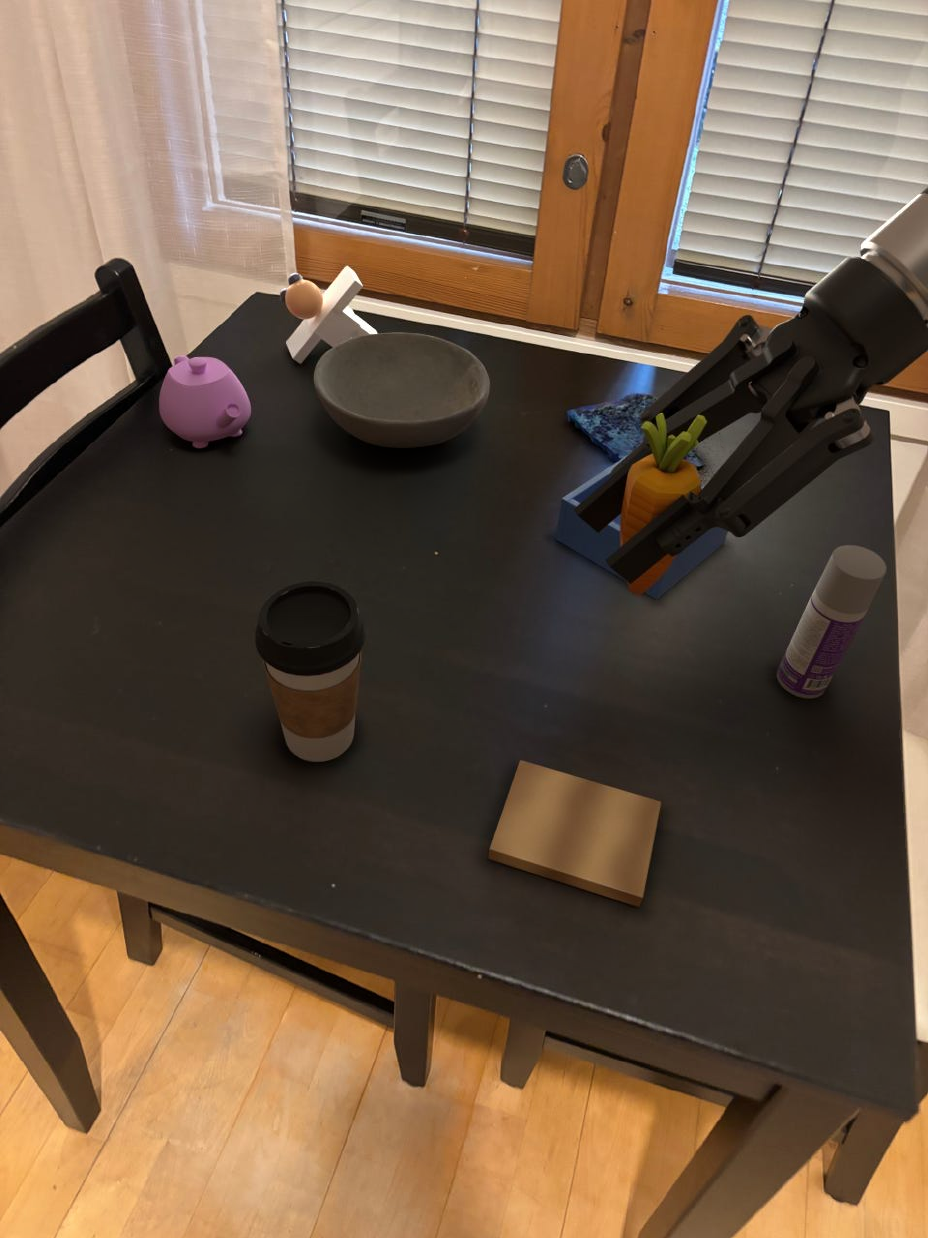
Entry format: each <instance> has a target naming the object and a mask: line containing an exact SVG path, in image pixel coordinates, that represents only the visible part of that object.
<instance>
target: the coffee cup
mask: <svg viewBox="0 0 928 1238" xmlns="http://www.w3.org/2000/svg"><path fill="white" fill-rule="evenodd" d="M254 631H255V635H254V636H255V638H254V639H255V641H254V643H255V647H256V651H257V653H258V654H259V656H260V658H261V659H262V664H263V668H264V671H265V675H266V678H267V681H268V685H269V688H270V691H271V695H272V698H273V703H274V706H275V708H276V711H277V715H278V719H279V721H280V724H281V728H282V732H283V737H284V740H285V744H286V746H287V747H288V749H289V751H290V752H291V753H292V754H293V755H294V756H296V757H298V758H299V759H300V760H304V761H307V762H311V763H320V762H327V761H333V760H334V759H336V758H338V757H340V756H341V755H342V754H344V753H345V752H346V751H347V750H348V749H349V747H350V746H351V744H352V743H353V739H354V736H355V727H356V726H355V725H356V723H355V722H356V711H357V703H358V695H359V693H358V692H359V687H360V685H359V683H360V674H361V665H362V656H363V654H362V649H363V647H364V644H365V641H366V628H365V622H364V619H363V616H362V614H361V612H360V611H359V607H358V605H357V602H356V600H355V598H354V597H353V596H352V595H351V593H350V592H348V591H347V590H346V589H344V588H342V587H341V586H339V585H337V584H334V583H331V582H326V581H318V580H309V581H302V582H301V581H300V582H297V583H293V584H290V585H287V586H285V587H283V588H281V589H279V590H278V591H276V592H275V593H273V594H272V595H270V596H269V598H267V600H266V601H264V603H263V605H262V606H261V607H260V609H259V613H258V618H257V624H256V627H255V630H254Z"/></svg>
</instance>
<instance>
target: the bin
mask: <svg viewBox="0 0 928 1238" xmlns="http://www.w3.org/2000/svg"><path fill="white" fill-rule="evenodd" d="M623 459H625V457H624V458H623ZM623 459H621V460H620V461H618V462H615V463H613V464H611V466H609V467H607V468H606V469H604V470H603V471H601V472H599V473H598V474H596V475H595V476H594V477H593V478H592V477H591V479H589V480H588V481H586V482H585V483H583V484H581V485H580V486H579V487H577V488H575V489H574V490H573V491H571V492H570V493H568V494H567V495H565V496H563V497H562V498H561V502H560V509H559V516H558V520H557V526H556V532H555V538H554V540H556V541H558V542H560V543H561V544H563V545H565V546H566V547H568V548H569V549H571V550H573V551H575V552H576V553H578V554H579V555H581V556H583V557H585V558H586V559H588V560H590V562H593V563H595V564H596V565H598V566H600V567H601V568H603V569H605V570H606V571H608V572H609V573H611V574H613V575H614V576H616V577H617V578H619V579H621V580H623V581H624V582H626V583H627V581H626V580H625V579H624V578H622V577H621V576H620V575H619V574H617V573H616V572H615V571H614V570H613V569H611V568H610V567H609V565H608V564H607V562H606V561H605V560H606V559H607V558H608V557H609V556H610V555H611V554H613V553H614V552H615V551H616V550H617V549H619V548H620V519H621V514H620V515H619V516H618V517H616V518H615V519H614V520H613V521H612V522H611V523H609V524H608V525H607V526H606V527H605V528H604V529H602V530H601V531H600V532H599V533H597V532H596V531H595V530H594V529H593V528H592V527H590V526H589V525H588V524H587V523H586V522H584V521H583V520H582V519H581V518H580V517H579V516H577V514H576V512H575V511H574V508H575V507H577V506H578V505H579V504H580V503H581V502H582V501H583V500H585V499H586V498H587V497H588V496H589V495H590V494H591V493H593V492H594V491H595V490H596V489H597V488H598V487H599V486H601V485H602V484H603V483H604V482H605V481H606V480H607V479H609V478H610V477H611V475H610V472H611V471H612V469H613V468H614V467H615V466H616V465H617V464H618V463H619V462H621V461H622V460H623ZM704 486H705V485H704V484H702V483H701V490H702V489H703V488H704ZM719 500H720V499H719ZM728 534H729V531H727V530H724V529H722V528H720V527H714V528H711V529H710V530H708V531H707V532H706V533H704V534H703V535H702V536H701V537H699V538H698V539H697V540H696V541H695V542H693V543H692V544H691V545H690V546H688V547H687V548H686V549H685V550H684V551H682V552H681V553H680V554H678V555H676V556H675V558H674V560H673V561H672V563H671V565H670V567H669V568H668V569H667V571H666V572H665V573H664V574H663V575H662V576H661V577H660V579H659V580H658V581H657V582H655V583H654V584H653V585H652V586H651V587H650V588H648V589H647V590H646V591H645V592H644V593H645V594H646V595H648V596H649V597H651V598H653V599H654V600H658V599H659V598H661V597H662V596H663V595H664V594H665V593H667V592H668V591H670V589H671V588H672V587H674V586H675V585H676V584H678V583H679V582H680V581H681V580H682V579H683V578H684V577H686V575H688V574H689V573H690V572H691V571H693V570H694V569H695V568H696V567H697V566H698V565H700V564H701V563H702V562H703V561H704V560H706V559H707V558H709V556H710V555H712V554H713V553H714V552H715V551H717V550H718V549H719V548H720V547H722V545H723V544H725V542H726V538H727V536H728ZM644 593H643V594H644Z"/></svg>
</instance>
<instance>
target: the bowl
mask: <svg viewBox="0 0 928 1238" xmlns="http://www.w3.org/2000/svg"><path fill="white" fill-rule="evenodd" d="M313 382H314V383H313V384H314V387H315V388H314V389H315V391H316V395H317V396H318V399H319V401H320V402H321V405H322V406H323V408H324V410H325V411H326V412H327V414H328V415H329V416H330V418H332V420H333V421H335V423H336V424H337V425H338V426H339V427H340V428H342V429H343V430H344V431H345V432H347V433H348V434H350V435H351V436H353V437H354V438H356V439H358V440H360V441H363V442H365V443H368V444H370V445H374V446H378V447H385V448H393V449H415V448H421V447H428V446H434V445H438V444H439V445H440V444H442V443H445V442H447V441H450V440H452V439H453V438H455V437H456V436H458V435H459V434H461V433H462V432H464V431H465V430H466V429H468V428H469V427H470V426H471V425H472V424H473V423H474V422H475V421H476V420H477V419H478V418H479V417H480V414H481V413H482V411H483V409H484V408H485V405H486V404H487V401H488V399H489V395H490V390H491V381H490V376H489V373H488V372H487V369H486V368H485V366H484V365H483V363H482V362H481V360H479V358H477V356H476V355H474V354H473V353H472V352H471V351H470V350H468V349H466V348H464V347H462V346H460V345H458V344H456V343H454V342H451V341H448V340H446V339H443V338H441V337H438V336H433V335H427V334H423V333H414V332H400V331H399V332H381V333H378V334H367V335H362V336H358V337H355V338H353V337H352V339H349V340H347V341H345V342H342V343H340V344H338V345H336V346H335V347H331V348H330V349H328V350H327V351H325V353H323V355H321V357H320V358H319V360H318V361H317V363H316V366H315V369H314V374H313Z"/></svg>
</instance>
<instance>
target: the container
mask: <svg viewBox="0 0 928 1238" xmlns="http://www.w3.org/2000/svg"><path fill="white" fill-rule="evenodd" d="M886 574H887V565H886V563H885V561H884V560H883V559H882V557H881V556H880V555H878V553H876V552H875V551H872V550H870V549H868V548H866V547H863V546H859V545H853V544H847V545H841V546H839V547H836V548H835V549H834V550H833V552H832V554H831V555H830V557H829V559H828V561H827V563H826V565H825V567H824V569H823V572H822V573H821V576H820V577H819V580H818V581H817V584H816V586H815V588H814V590H813V592H812V594H811V596H810V598H809V600H808V603H807V604H806V607H805V609H804V611H803V613H802V616H801V618H800V619H799V622H798V624H797V626H796V628H795V630H794V633H793V635H792V637H791V640H790V642H789V644H788V646H787V648H786V651H785V653H784V655H783V657H782V659H781V661H780V664H779V666H778V668H777V671H776V678H777V681H778V683H779V685H780V686H781V687H782V688H783V689H784V690H785V691H787V692H788V693H789V694H791V695H793V696H795V697H798V698H802V699H815V698H818V697H820V696H822V695H823V694H824V693H825V692H826V690H827V688H828V687H829V685H830V682H831V681H832V679H833V677H834V675H835V673H836V671H837V670H838V668H839V666H840V664H841V662H842V660H843V658H844V656H845V655H846V653H847V650H848V648H849V647H850V645H851V643H852V642H853V639H854V637H855V635H856V634H857V632H858V630H859V628H860V627H861V624H862V622H863V620H864V618H865V617H866V614H867V612H868V610H869V608H870V606H871V604H872V602H873V600H874V597H875V596H876V593H877V592H878V589H879V587H880V585H881V584H882V581H883V579H884V577H885V575H886Z"/></svg>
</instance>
